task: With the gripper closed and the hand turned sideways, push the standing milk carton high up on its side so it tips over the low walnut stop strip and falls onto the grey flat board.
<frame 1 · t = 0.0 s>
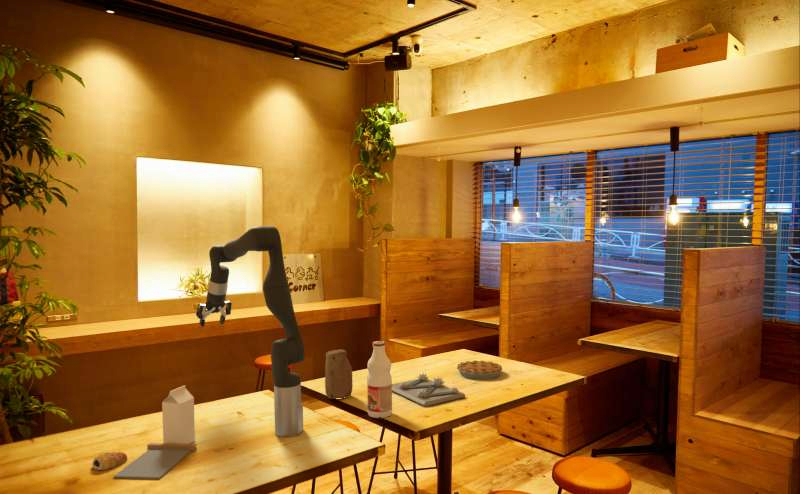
hand: (211, 324, 233), 31 cm above the table, tool tilted 20°, fingers open, 8 cm apart
decorative plate: (424, 395, 236), on the table
pie: (479, 374, 266), on the table
fruit juice: (380, 414, 211), on the table
milk carton: (179, 444, 185), on the table
grey flat board: (154, 463, 169), on the table
pastry: (108, 466, 169), on the table
block: (339, 397, 232), on the table
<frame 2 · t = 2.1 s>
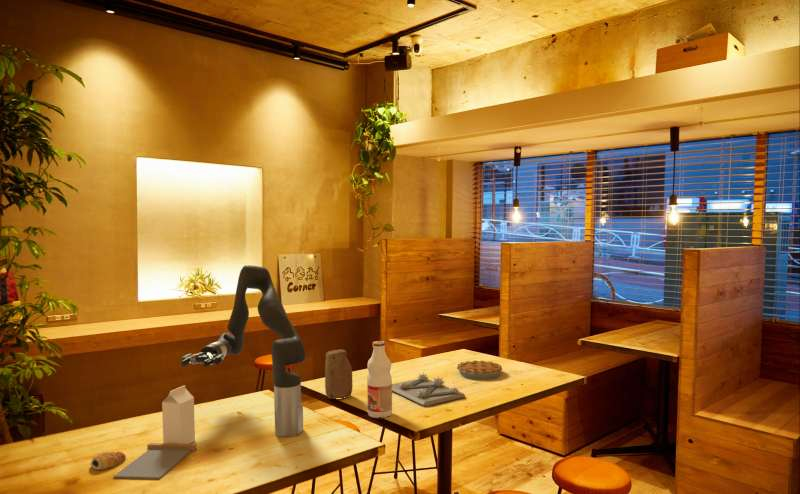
hand: (193, 364, 196), 24 cm above the table, tool horizontal, fingers open, 7 cm apart
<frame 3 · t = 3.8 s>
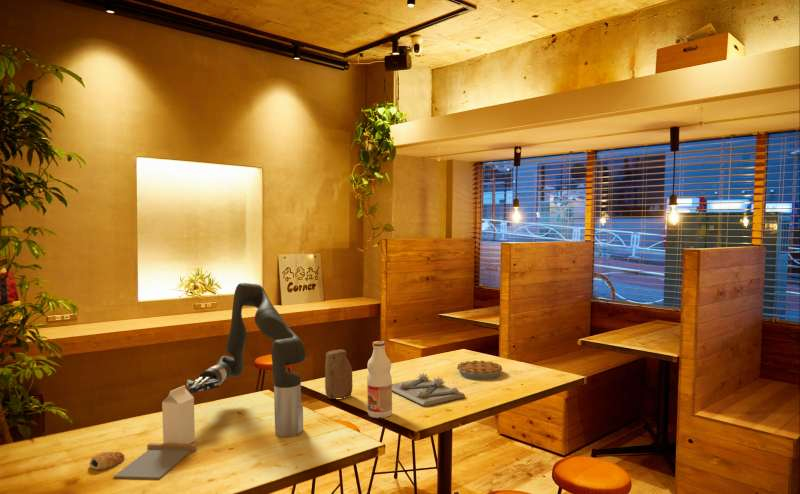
hand: (191, 390, 194), 15 cm above the table, tool horizontal, fingers closed
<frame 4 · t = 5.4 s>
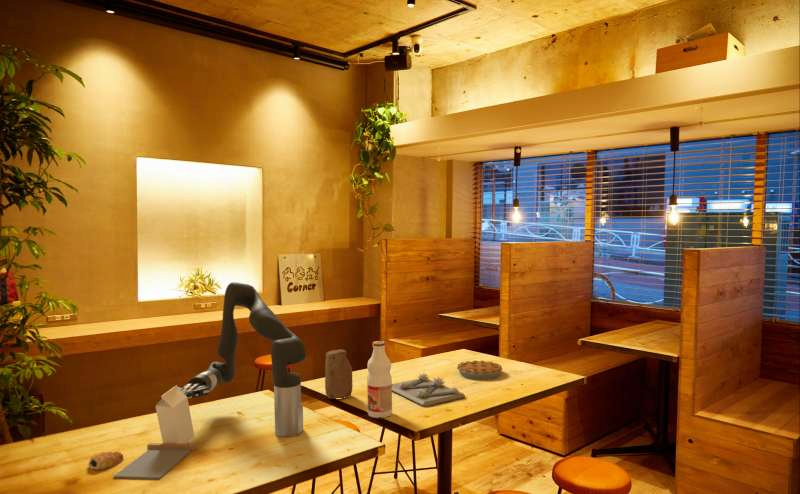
hand: (179, 398, 185), 15 cm above the table, tool horizontal, fingers closed
milk carton: (179, 442, 185), on the table, touching grey flat board
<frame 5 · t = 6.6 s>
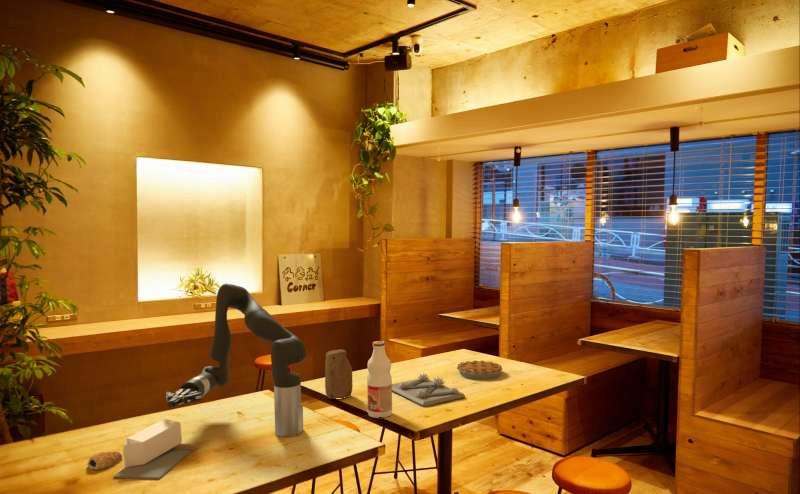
hand: (170, 404, 179), 15 cm above the table, tool horizontal, fingers closed
milk carton: (174, 430, 182), point 6 cm above the table, touching grey flat board
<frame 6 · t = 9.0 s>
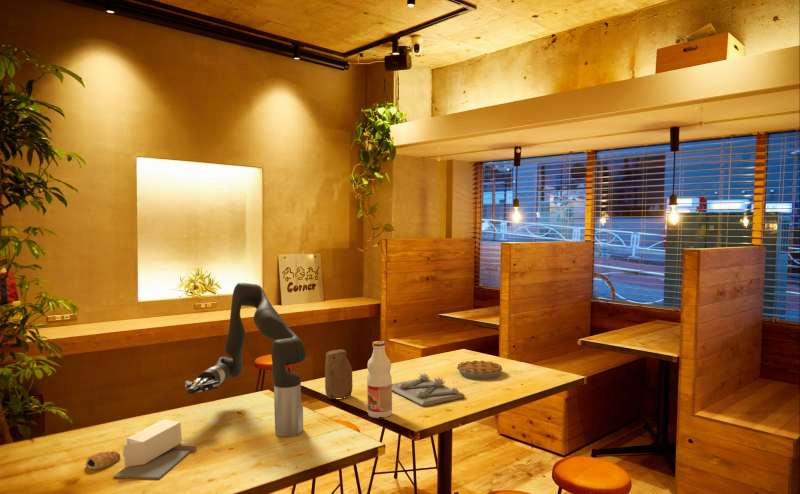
hand: (190, 391, 193), 15 cm above the table, tool horizontal, fingers closed
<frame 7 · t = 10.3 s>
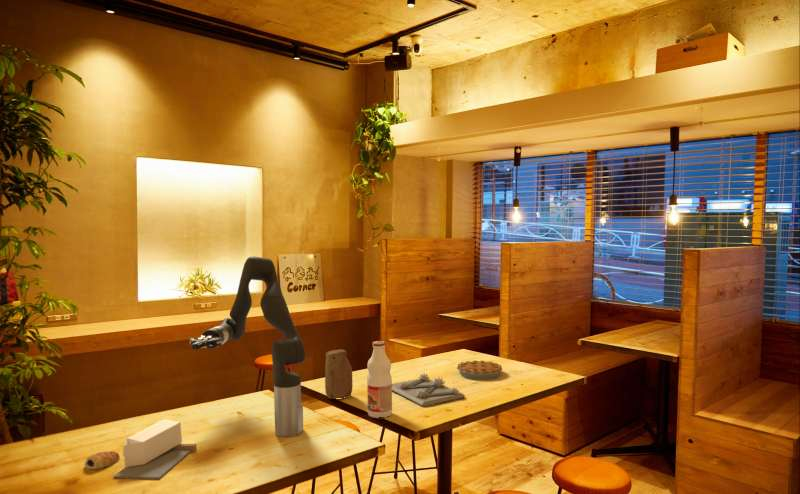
hand: (194, 346, 196), 30 cm above the table, tool horizontal, fingers closed
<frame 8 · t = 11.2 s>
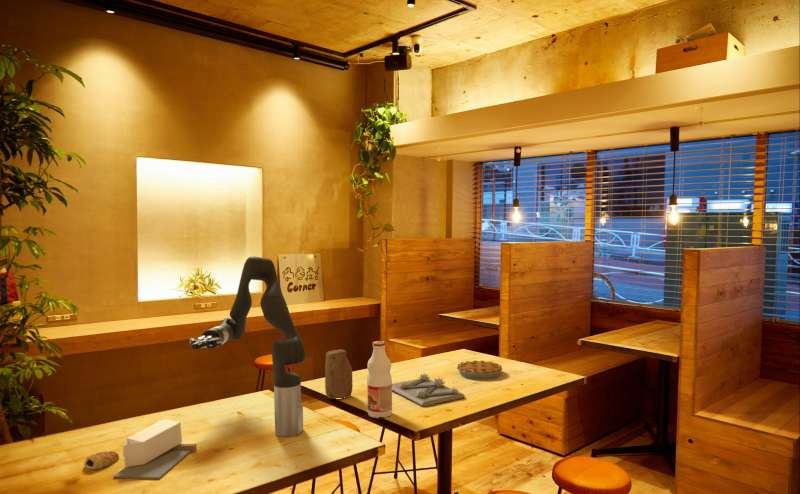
hand: (194, 346, 196), 30 cm above the table, tool horizontal, fingers closed
at the end: milk carton tilted 94°; milk carton touching grey flat board; the gripper is holding nothing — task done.
